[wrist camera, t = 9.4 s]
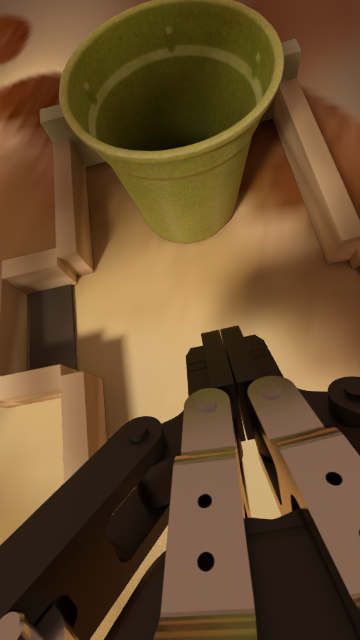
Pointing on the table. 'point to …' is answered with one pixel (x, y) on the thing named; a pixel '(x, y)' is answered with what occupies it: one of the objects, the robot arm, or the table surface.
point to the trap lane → (76, 259)
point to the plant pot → (175, 105)
